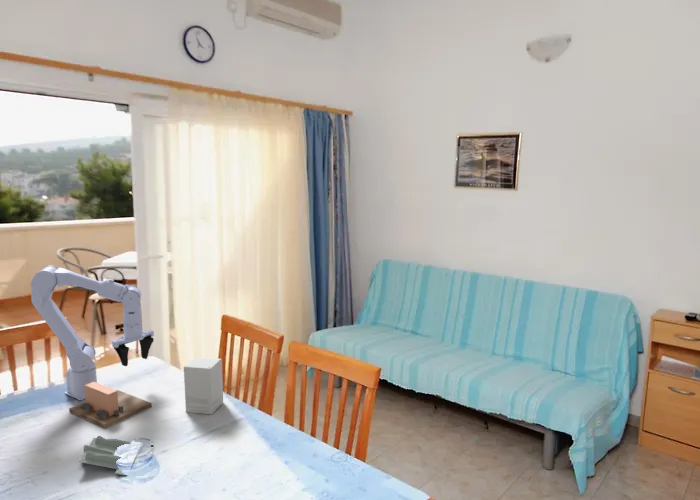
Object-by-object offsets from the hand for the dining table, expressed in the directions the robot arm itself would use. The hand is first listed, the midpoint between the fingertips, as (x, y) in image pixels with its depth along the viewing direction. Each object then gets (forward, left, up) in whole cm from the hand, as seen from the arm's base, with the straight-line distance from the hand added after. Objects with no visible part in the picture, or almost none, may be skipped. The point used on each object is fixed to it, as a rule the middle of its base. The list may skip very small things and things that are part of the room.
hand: (134, 361), depth 173 cm
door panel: (+7, -17, -8) cm, 20 cm away
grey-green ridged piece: (+32, -31, -10) cm, 46 cm away
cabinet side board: (+7, -14, -9) cm, 18 cm away
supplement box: (+30, +3, -10) cm, 32 cm away
